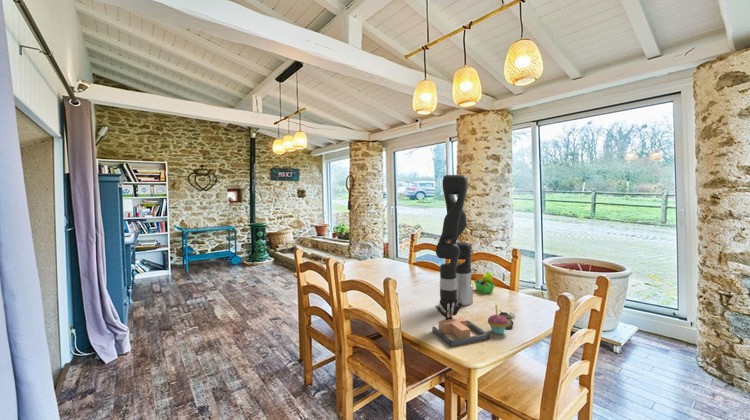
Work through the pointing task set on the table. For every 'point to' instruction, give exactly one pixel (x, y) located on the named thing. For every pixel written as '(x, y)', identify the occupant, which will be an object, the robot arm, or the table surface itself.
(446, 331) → the T-block
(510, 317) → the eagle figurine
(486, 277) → the fruit basket
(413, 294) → the table surface
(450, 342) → the rail bay
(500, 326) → the cupcake
